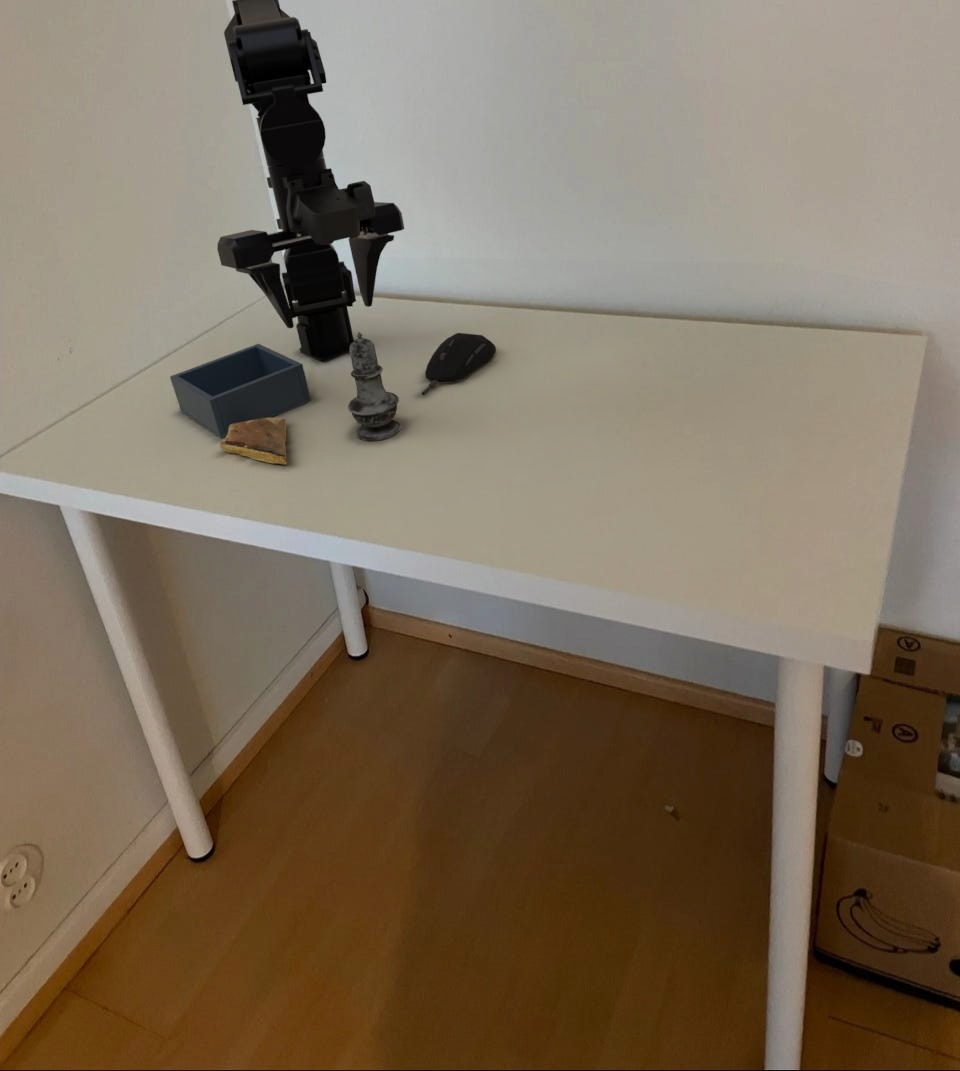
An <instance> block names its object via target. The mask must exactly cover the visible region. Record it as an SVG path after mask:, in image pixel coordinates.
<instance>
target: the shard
mask: <svg viewBox="0 0 960 1071" xmlns="http://www.w3.org/2000/svg"><path fill="white" fill-rule="evenodd" d="M286 442H287V424H286V419H285V418H283V417H268V418H260V419H256V420H250V421H244V422H238V423H233V424H231V425H230V426H229V430H228V434H227V436H226V437H224V439H223V441H221V442H220V444H219V446H220V448H221V449H222V451H224V452H226V453H227V454H237V455H240V456H242V457H248V458H250V459H252V460H255V461H260V462H264V463H266V464H278V465H284V466H285V465H287V464H288V462H287V452H286Z"/></svg>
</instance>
